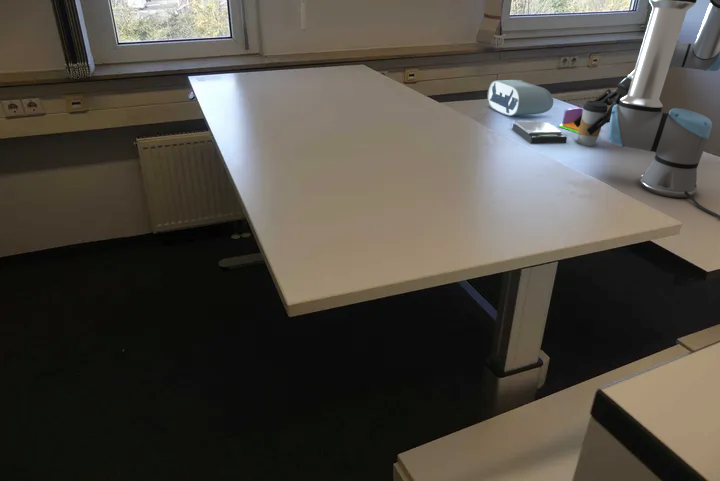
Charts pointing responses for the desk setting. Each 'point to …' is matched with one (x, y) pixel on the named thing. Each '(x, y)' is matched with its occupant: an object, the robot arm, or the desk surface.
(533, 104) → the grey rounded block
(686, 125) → the robot arm
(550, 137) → the scale
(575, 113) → the toy room diorama
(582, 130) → the coffee cup
